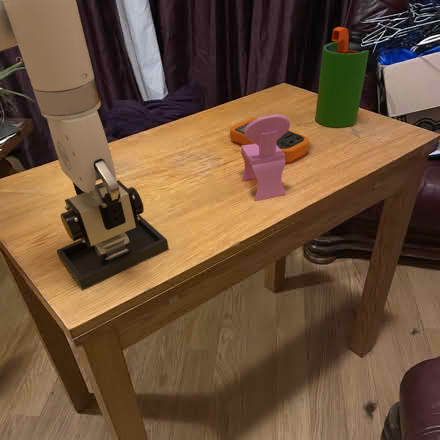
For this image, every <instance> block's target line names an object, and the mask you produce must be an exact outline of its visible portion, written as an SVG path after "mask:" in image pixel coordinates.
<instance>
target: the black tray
mask: <svg viewBox="0 0 440 440" xmlns="http://www.w3.org/2000/svg"><path fill="white" fill-rule="evenodd" d="M137 217H139V219H140V220H138V222H139V226H138V227H136V228H134V229H131V230H129V231H126V232H124V233H126V235H127V236H128V238H129V241H130V245H129V246H127V247H126V248H127V249H128V252H127V254H124V255H122V256H120V257H118V258H115V259H113V260H111V261H109V260H108V261H107V260H105V258H106V256H104V257H102V258H101V257H99V255H98V254H97V252H96V249H95V246H94V245H93V246H91V247H88V248H87V246H86V245H85V244H84V243H83V242H82V240H81V239H78V240H76V241H73V242H72V243H70V244H67V245H65V246H62V247H61V248H57V249H56V250H55V251H56V254H57V256H58V258H59V260H60V262H61V263H62V265H63V266H64V267H65V268H66V270H67V271H68V273H69V274H70V275H71V277H72V278H73V279H74V281H75V282H76V283H77V285H78V286H79V288H80V289H81V290H82V291H84V290H86V289H88V288H90V287H93V286H94V285H95V286H96V285H97V284H99V283H101V282H103V281H105V280H107V279H109V278H111V277H113V276H116V275H117V274H120V273H123V272H124V271H126V270H128V269H130V268H132V267H134V266H137V265H139V264H141V263H142V262H144V261H147V260H149V259H151V258H153V257H155V256H157V255H159V254H162V253H164V252H166V251H168V250H169V243H168V239H167V238H166V237H165V236H163V234H162V233H160V232H159V231H158V230H157V229H156V228H155V227H154V226H153V225H152V224H150V223H149V222H148V221H147V220H146V219H145V218H144V217H143V216H141V214H139V215H137Z"/></svg>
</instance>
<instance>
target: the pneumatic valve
mask: <svg viewBox="0 0 440 440" xmlns="http://www.w3.org/2000/svg"><path fill="white" fill-rule="evenodd" d="M116 181H117V183H118V185H119V192H120V194H121V195H120V197H121V203H122V207H123V211H124V215H125V219H126V222H125V223H124V224H122V225H119V226H117V227H115V228H112V229H110V230H107V229H106V228H105V227H104V224H103V220H102V217H101V213H100V210H99V207H98V206H99V205H100V203H99V201H98V199H97V197H96V195H95V193H94V191H90V193H86V192H84V193H82V194H79V195H77V194H76V195H74V196H72V197H68V198H66V199H64V204H65V205H66V206H64V210H65V212H61V213H60V220H61V222H62V225H63V228H64V229H65V231H66V234H67V235H68V237H69V238H70V240H71V241H72V242H77V241H79V240H82V242H83V243H84V244H85V245H86V246H87V248H88V247H91V246H93V245H94V246H95V249H96V252H97V254H98V255H99V257H101V258H102V257H104V256H106V258H105V260H107V261H108V260H109V261H111V260H113V259H115V258H118V257H120V256H122V255H124V254H127V252H128V249H127V248H126V247H127V246H129V245H130V241H129V238H128V236H127V235H126V233H124V232H126V231H129V230H131V229H134V228H136V227H138V226H139V222H138V220H140V219H139V217H137V216H138V215H141V214H143V213H144V211H145V209H144V203H143V200H142V198H141V196H140V194H139V192H138V191H137V189H136V188H135V187H133V186H131V187H127V186H125V185H124V184H123V183H122V181H120V180H119V179H118V180H116ZM100 192H101V194H102V196H103V198H104V196H105V194H106V193H108V192H107V189H106V187H105V188H103V189H100Z"/></svg>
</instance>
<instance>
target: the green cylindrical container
mask: <svg viewBox="0 0 440 440" xmlns="http://www.w3.org/2000/svg"><path fill="white" fill-rule="evenodd" d="M348 29H349V28H347V27H342V26H337V27H335V28H334V29H332V36H331V41H332V42H329V43H326V44H324V45H323V46H322V51H321V52H322V53H321V62H320V71H319V79H318V90H317V96H316V97H317V98H316V107H315V117H314V120H315V122H317V124H319V125H322V126H324V127H328V128H347V127H351V126H353V125H355V124H356V123H357V121H358V116H359V115H358V114H359V111H360V110H359V109H360V104H361V98H362V92H363V87H364V82H365V76H366V72H367V71H366V70H367V65H368V64H367V63H368V60H369V55H370V54H369V53H370V50H368V49H365V50H362V51H358V50H351V49H349V39H350V38H349V37H350V36H349V30H348Z"/></svg>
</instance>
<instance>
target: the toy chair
mask: <svg viewBox="0 0 440 440" xmlns="http://www.w3.org/2000/svg"><path fill="white" fill-rule="evenodd" d="M290 127H291V121H290V119H289V118H288V117H287V116H285V115H282V114H269V115H264V116H261V117H259V118H258V119H256V120H254V121H252V122H251V123H249V124H248V125H247V126H246V128H245V135H246V138H247V139H248V140H250V141H251V142H252V143H254V144H250V145H241V146H240V154H241V157H242V159H243V161H244V169H243V174H242V177H241V181H242V182H245V181H250V180H255V179H256V182H257V188H256V193H255V197H254V201H255V202H258V201H262V200H267V199H273V198H277V197H282V196H286V195H287V193H286V190H285V188H284V185H283V179H282V177H283V172H284V169H285V166H286V162H285V154H284V153H283V152H282V151H281V150H280V149H279V147H278V146H277V145H276V143H277V140H278V139H279V138H280V137H281V136H282V135H284V134H285V133H286V132H287V131H288V130H289V131H290Z"/></svg>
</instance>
